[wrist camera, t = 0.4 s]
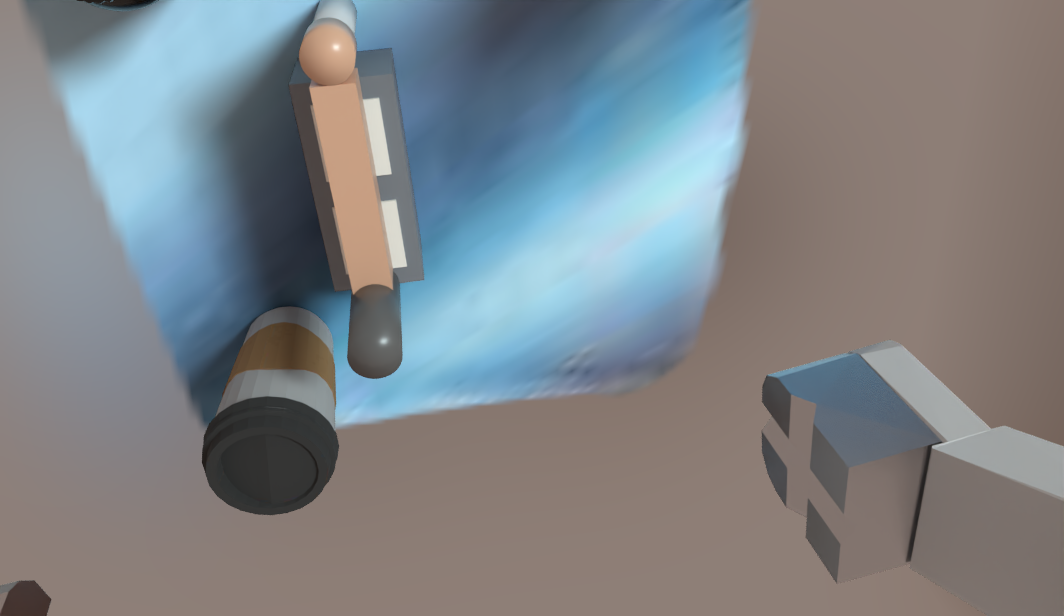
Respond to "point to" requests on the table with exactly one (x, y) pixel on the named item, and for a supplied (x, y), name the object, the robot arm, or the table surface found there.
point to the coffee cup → (276, 417)
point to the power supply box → (386, 154)
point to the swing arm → (354, 197)
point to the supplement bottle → (120, 4)
